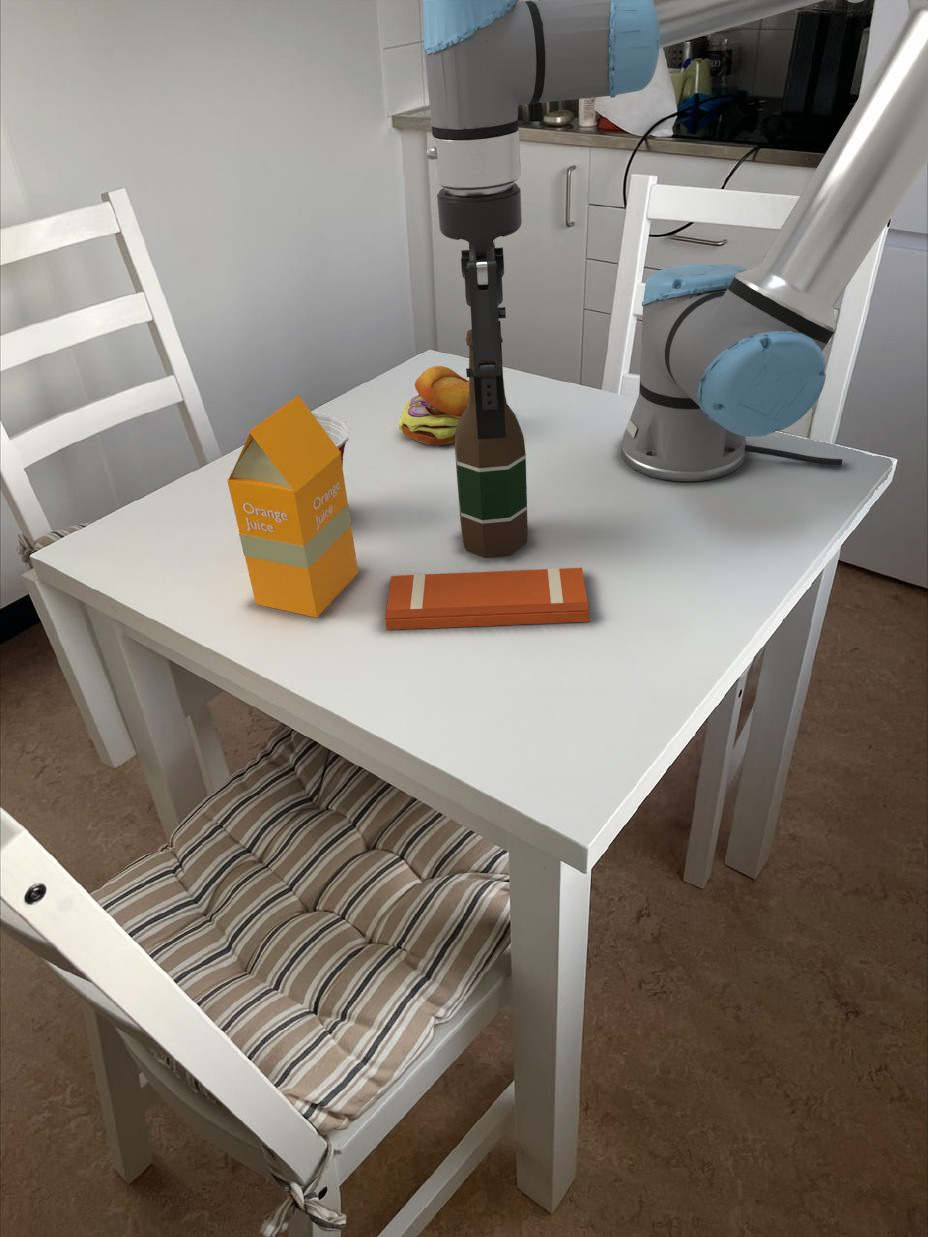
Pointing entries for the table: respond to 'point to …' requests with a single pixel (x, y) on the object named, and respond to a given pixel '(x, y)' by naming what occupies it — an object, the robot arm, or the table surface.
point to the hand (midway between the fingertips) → (491, 408)
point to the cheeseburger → (435, 406)
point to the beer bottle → (491, 481)
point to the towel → (487, 599)
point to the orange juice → (293, 513)
